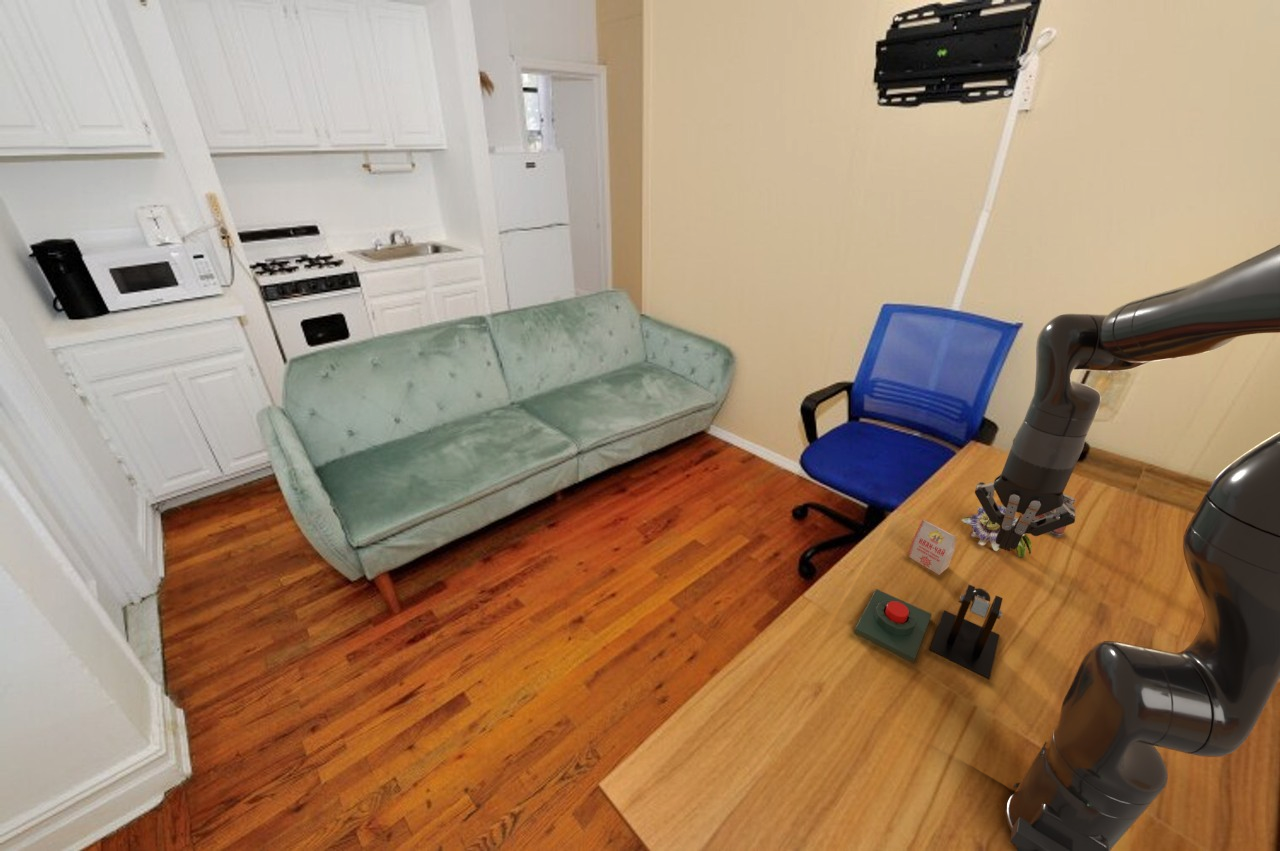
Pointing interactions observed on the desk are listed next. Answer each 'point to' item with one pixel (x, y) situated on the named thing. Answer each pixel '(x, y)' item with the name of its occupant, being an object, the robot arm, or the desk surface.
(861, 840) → the desk surface
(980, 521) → the passion flower
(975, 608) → the switch
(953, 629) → the bracket
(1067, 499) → the lighter
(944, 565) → the tea bag
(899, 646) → the button block
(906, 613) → the button
